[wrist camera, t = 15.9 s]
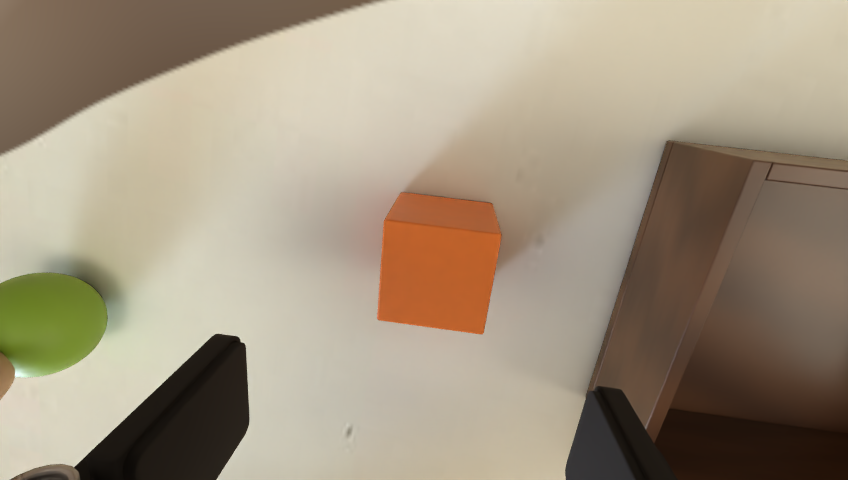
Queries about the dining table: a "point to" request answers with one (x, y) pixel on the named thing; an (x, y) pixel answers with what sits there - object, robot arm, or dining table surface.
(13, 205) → the dining table surface
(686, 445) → the chest
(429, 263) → the block
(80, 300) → the snail figurine
